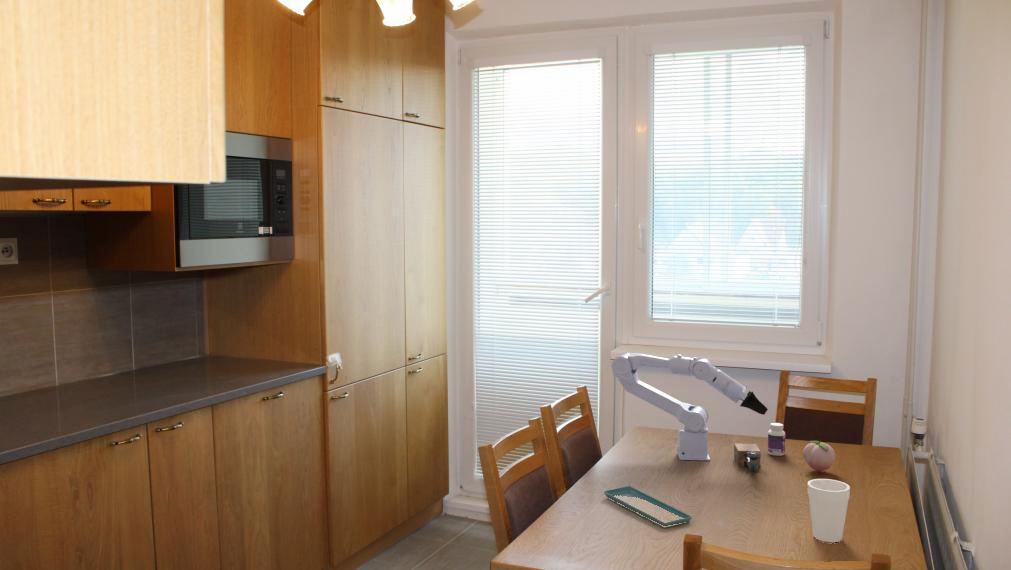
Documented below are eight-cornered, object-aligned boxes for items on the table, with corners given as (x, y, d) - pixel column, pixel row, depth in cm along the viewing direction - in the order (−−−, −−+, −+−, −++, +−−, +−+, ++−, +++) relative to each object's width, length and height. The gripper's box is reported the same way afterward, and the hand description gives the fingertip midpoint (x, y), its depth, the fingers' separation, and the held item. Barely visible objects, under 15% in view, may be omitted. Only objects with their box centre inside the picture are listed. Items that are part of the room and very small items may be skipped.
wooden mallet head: (738, 466, 250) (738, 450, 250) (734, 458, 258) (734, 443, 258) (760, 467, 249) (760, 451, 249) (755, 459, 257) (755, 444, 257)
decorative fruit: (841, 474, 242) (842, 441, 241) (820, 478, 239) (820, 444, 238) (818, 465, 250) (819, 433, 249) (797, 469, 247) (798, 436, 246)
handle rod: (747, 473, 241) (747, 455, 240) (738, 455, 258) (738, 438, 257) (761, 473, 240) (761, 455, 240) (751, 456, 257) (751, 439, 257)
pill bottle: (786, 456, 260) (786, 426, 259) (768, 455, 261) (768, 426, 260) (783, 451, 265) (784, 422, 265) (766, 451, 266) (767, 421, 266)
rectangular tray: (693, 524, 205) (693, 515, 205) (664, 531, 201) (664, 521, 201) (629, 494, 228) (629, 485, 228) (602, 499, 224) (602, 491, 224)
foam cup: (799, 531, 199) (800, 479, 198) (836, 529, 199) (837, 477, 198) (817, 547, 189) (818, 492, 188) (856, 545, 190) (857, 490, 189)
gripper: (735, 374, 248) (774, 401, 244) (733, 376, 262) (770, 401, 258) (722, 393, 248) (760, 420, 245) (721, 394, 262) (757, 419, 259)
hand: (765, 412), depth 251 cm, fingers open, 7 cm apart
